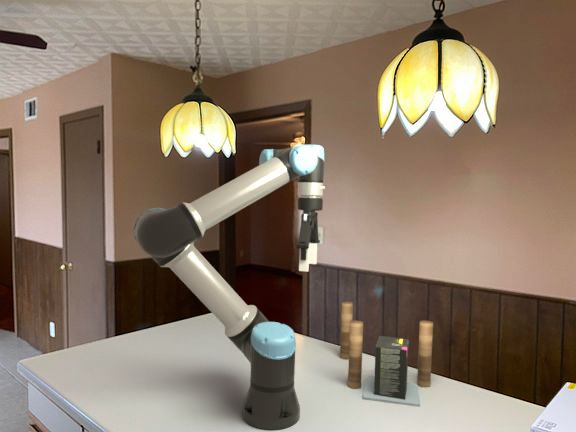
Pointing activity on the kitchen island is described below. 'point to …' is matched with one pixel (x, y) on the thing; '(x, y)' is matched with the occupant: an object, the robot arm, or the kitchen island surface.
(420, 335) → the post
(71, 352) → the kitchen island surface
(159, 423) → the kitchen island surface
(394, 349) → the tampon box
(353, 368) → the post corner
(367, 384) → the pad
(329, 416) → the kitchen island surface
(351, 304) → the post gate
